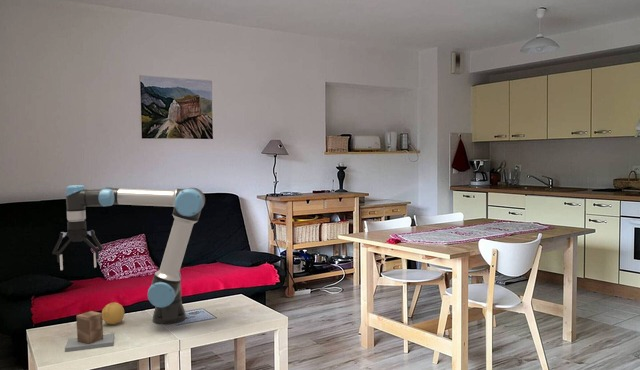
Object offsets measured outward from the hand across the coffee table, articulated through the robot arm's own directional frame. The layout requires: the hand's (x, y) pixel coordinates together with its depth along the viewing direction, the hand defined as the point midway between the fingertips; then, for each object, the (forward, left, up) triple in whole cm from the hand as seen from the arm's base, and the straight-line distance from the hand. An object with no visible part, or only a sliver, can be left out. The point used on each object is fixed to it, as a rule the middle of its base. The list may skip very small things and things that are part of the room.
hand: (78, 268), depth 236 cm
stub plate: (-5, +18, -29) cm, 34 cm away
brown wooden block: (-5, +18, -27) cm, 33 cm away
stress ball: (-13, -8, -29) cm, 33 cm away
